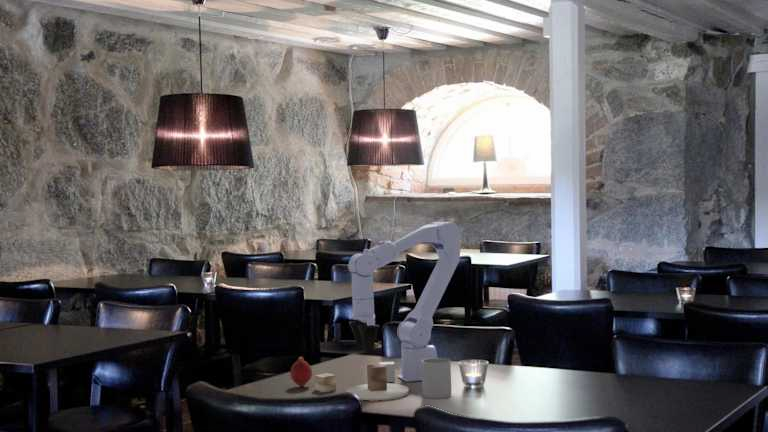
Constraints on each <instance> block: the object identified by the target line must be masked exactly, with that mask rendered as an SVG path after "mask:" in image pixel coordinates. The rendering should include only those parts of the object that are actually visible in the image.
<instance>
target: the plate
mask: <svg viewBox="0 0 768 432" xmlns="http://www.w3.org/2000/svg"><path fill="white" fill-rule="evenodd" d="M409 391H410V388H409V387H408V386H406V384H399V383H387V390H384V391H373V392H372V391H370V390H369V389H368V383H364V384H357V385H354V386H350V387H348V388H346V390H345V393H346V392H351V393H355V394H356V395H357V396H358V397H359V398H360V399H361V400H360V401H363V400H369V401H368V402H373V401H374V402H377V401H379V400H382V401H390V400H391V401H392V400H396V399H397V400H398V399H401V398H404V397H407V396H408V395H409V394H410V392H409ZM379 402H380V401H379Z"/></svg>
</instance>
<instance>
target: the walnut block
mask: <svg viewBox="0 0 768 432" xmlns="http://www.w3.org/2000/svg"><path fill="white" fill-rule="evenodd" d="M366 370H367V371H366V374H367V377H366V378H367V384H368V389H369V390H370V391H372V392H373V391H384V390H387V377H386V366H384V365H383V364H379V363H378V364H367V365H366Z"/></svg>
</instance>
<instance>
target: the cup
mask: <svg viewBox="0 0 768 432" xmlns="http://www.w3.org/2000/svg"><path fill="white" fill-rule="evenodd" d="M421 364H422V380H421V385H422V386H421V390H422V391H421V392H422V397H423V398H424V399H428V400H429V399H430V400H441V399H448V398H450V397H452V371H451V370H452V369H451V367H452V366H451V365H452V363H451V359H450V358H442V357H437V358H431V359H424V360H422V361H421Z"/></svg>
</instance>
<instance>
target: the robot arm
mask: <svg viewBox="0 0 768 432" xmlns="http://www.w3.org/2000/svg"><path fill="white" fill-rule="evenodd" d="M462 239H463V235H462V233H461V231H460V227H459V226H458V225H457V224H456V223H454V222H451V221H447V222H444V221H443V222H440V221H432V222H431V223H429V224H428V223H427V224H424V225H423V226H421V227H418V228H417V229H415V230H414V231H411V232H409V233H408V234H406V235H404V236H402V237H400V238H399V239H397V240H395V241H394V242H392V241H390V240H380V241H377V242H378V243H377V244H376V245H375V246H373V247H370V248H369V249H368V248H364V249H363V252H362V253H355V254H353V255H352V256H351V258H349V261H348V264H347V269H348V271H349V273H351V297H352V298H351V300H352V301H351V302H352V315H348V319H349V320H353V321H349V322H348V324H349V326H350V328H351V330H352V333H353V336H354V340H355V345H356V348H357V349H359V348H363V350H364V352H366V353H367V352H369V353H370V352H374V348H375V342H376V339H377V338H376V337H377V334H378V331H379V330H380V328H381V327H380V325H379V324H376V314H375V299H374V295H375V294H374V277H373V275H374V274H375V271H376V270H378V269H380V268H382V267H383V266H386V265H388V264H390V263H392V262H394V261H396V260H397V259H398V256H399V253H403V252H405V251H406V250H409V249H411V248H413V247H415V246H418V245H421V244H422V243H430V245H432V247H433V248H434V250H435V251H436V254H437V256H438V260H437V262H436V263H435V266H434V268H433V270H432V272H431V274H430V276H429V278H428V280H427V282H426V284H425V287H424V288H423V290H422V293H421V295H420V297H419V298H418V301H417V303H416V305H415V307H414V308H413V310H412V311H410V312H409V313H408V314H407V315H406V317H405V318H404V320H403V321H401V322H400V323H399V325H398V327H397V330H396V331H397V333H396V335H397V336H398V339H399V340H400V341H401V344H400V346H401V347H400V348H401V349H400V350H401V352H400V353H401V372H402V373H401V374H398V375H397V378H399V379H401V380H402V381H404V382H406V383H407V382H418V381H422V364H421V361H422V360H424V359H431V358H438V352H437V348H436V346H435V345H434V344H429V342H430V340H431V336H432V328H433V327H434V320H433V316H434V314H435V312H436V310H437V308H438V306H439V304H440V302H441V300H442V297H443V295H444V293H445V292H446V289H447V287H448V285H449V283H450V282H451V279H452V277H453V275H454V273H455V270H456V269H457V266H458V264H459V262H460V260H461V241H462ZM428 344H429V345H428Z"/></svg>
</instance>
